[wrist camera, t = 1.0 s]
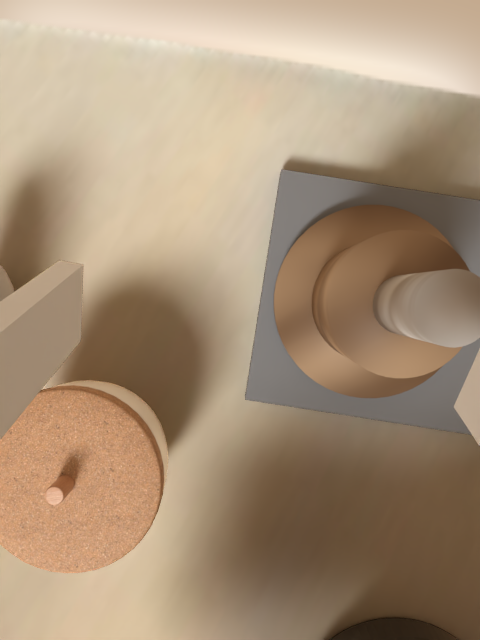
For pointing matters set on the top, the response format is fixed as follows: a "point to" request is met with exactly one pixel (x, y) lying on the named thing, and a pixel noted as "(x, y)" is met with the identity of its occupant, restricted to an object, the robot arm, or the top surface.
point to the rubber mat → (268, 350)
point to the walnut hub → (374, 301)
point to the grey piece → (5, 284)
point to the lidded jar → (80, 476)
